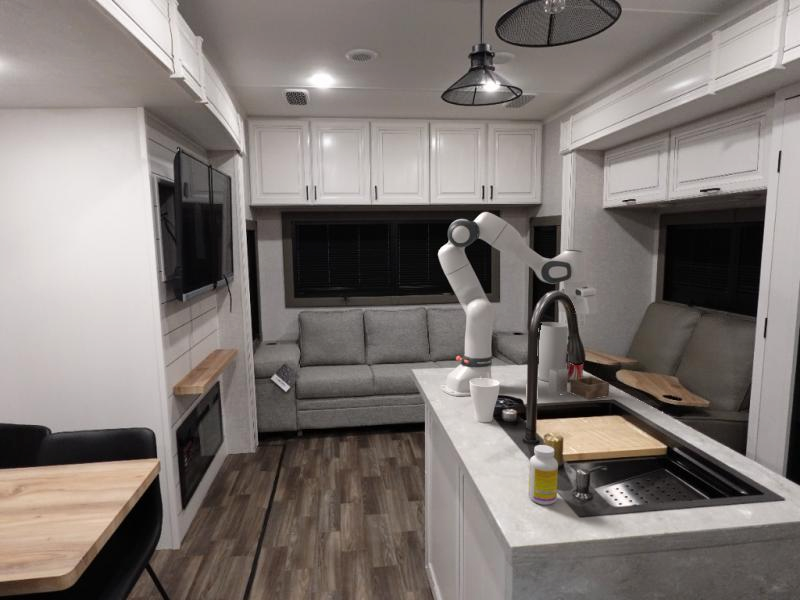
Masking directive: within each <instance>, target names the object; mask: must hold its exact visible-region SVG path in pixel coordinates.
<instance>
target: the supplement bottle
mask: <svg viewBox="0 0 800 600" xmlns="http://www.w3.org/2000/svg"><path fill="white" fill-rule="evenodd" d="M533 452H534V455H533V456H531V457H530V458H529V469H528V470H529V474H528V497H529V499H530V500H531V501H532V502H534V503H536V504H539V505H544V506H546V505H547V506H548V505H552V504H555V503H556V501H557V496H558V478H559V477H558V475H559V474H558V472H559V471H558V470H559V463H558V461H557V459H556V458H555V449H554V447H552V446H550V445H546V444H538V445H535V446H534V449H533Z"/></svg>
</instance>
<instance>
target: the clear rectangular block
mask: <svg viewBox="0 0 800 600" xmlns="http://www.w3.org/2000/svg"><path fill="white" fill-rule="evenodd" d="M568 382H569V381H568V370H566V369H563V368H556V369H550V377H549V382H548V394H550V393H551V395H553V394H554V395H553V396H555V395H557V396H561V395H560V394H563V395H567V394H568ZM566 393H567V394H566Z"/></svg>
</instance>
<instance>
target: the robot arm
mask: <svg viewBox="0 0 800 600" xmlns="http://www.w3.org/2000/svg"><path fill="white" fill-rule="evenodd" d="M521 235H522V234H521V233H520V232H519V231H518V230H517V229H516V228H515V226H513V225H512V224H510V223H509V222H508V221H505V220H504V219H503V218H501V217H499V216H497V215H496V214H494V213H491V212H489V211H483V212H481V213H480V214H479V215H478V216H477V217H476V218H475V219H474V220H468V219H465V218H459V219H456V220H453V222H451V224H450V225H449V227H448V229H447V238H448V242H447V243H445V244H444V245H443V246H441V247H440V249H438V253H437V256H438V260H439V263H440V266H441V269H442V270H443V273H444V275H445V276H446V278H447V280H448V283H449V285H450V286H451V289H452V291H453V292H454V294H455V295H456V298H457V299H458V302H459V303H460V306H461V307H462V309H463V311H464V313H465V315H466V321H465V335H464V354H463V356H460V355H457V356H456V358H455V360H456V361H458V362H460V364H458V366H456V368H454V369H453V370H452V371H451V372H450V373H448V375H447V378H446V382H445V384H441V385H440V390H441V391H442V392H444V393H446V394H448V395H451V396H453V397H467V396H469V397H471V392H470V380H472V379H476V378H489V379H493V377H492V365H493V356H492V339H493V338H492V336H493V328H494V321H495V320H494V319H495V308H494V306H493V304H492V303H491V302H490V301H489V299H488V297H487V295H486V293H485V291H484V289H483V287H482V285H481V283H480V280H479V279H478V276H477V275H476V272H475V271H474V268H473V267H472V264H471V262H470V261H469V259H468V257H467V254H466V252H465V248H466V247H468V246H470V245H471V244H472V243H474V242H475V241H476V240H477V239H480V240H482V241H483V242H486V243H487V244H489V245H490V246H491V247H493V248H494V249H495V250H498V251H499V252H502V253H504V254H506V255H510V256H512V257H515V258H517V259H518V260H520V261H521V262H523V263H524V264H525V265H526V266H528V267H529V268H530V269H532V270H533V272H534V274H535V276H536V277H537V278H538V279H539V280H540V281H541V282H543V283H547V284H551V285H554V284H558V283H561V282H563V287H564V288H562V289H561V290H560V292H563V293H565V294H566V295H568V296H569V298H570V299H571V301H572V303H573V305H574V308H575V311H576V313H575V314H579V315H582V316H583V320H581V323H582V326H587V327H588V326H589V321H590V318H591V316H593V315H596V314H597V313H598V299H597V296H596V295H597V289H596V288H594V287H593V286H591V285H589V284H588V279H587V271H588V269H587V261H586V255H585V253H584V252H583V251H581V250H577V249H565V250H563V251H562V252H561V253H560V254H558V255H556V256H554V257H553V258H549V257H543V256H542V255H540V254H538V253H537V252H536V251H535V250H533V249H532V248H531V247H530V246H528V245H527V244H526V243H525V242H524V239H523V238H522V236H521ZM558 309H559V311H560V312H564V315H565V316H566V313H565V309H564V307H563V305H562V304H561V303H560V302H559V301H558Z"/></svg>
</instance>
